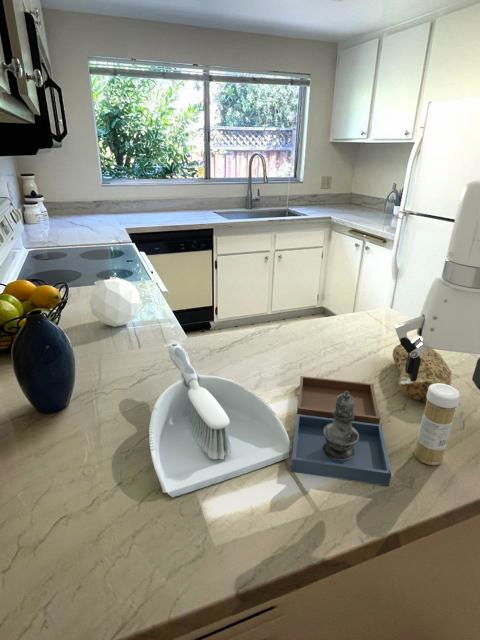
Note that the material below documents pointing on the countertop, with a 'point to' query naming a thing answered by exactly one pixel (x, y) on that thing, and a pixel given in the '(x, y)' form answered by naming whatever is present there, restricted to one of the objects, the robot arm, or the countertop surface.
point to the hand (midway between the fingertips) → (444, 381)
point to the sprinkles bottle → (436, 423)
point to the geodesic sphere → (114, 301)
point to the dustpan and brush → (210, 430)
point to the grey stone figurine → (341, 430)
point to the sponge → (421, 372)
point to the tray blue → (311, 459)
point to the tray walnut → (323, 394)
